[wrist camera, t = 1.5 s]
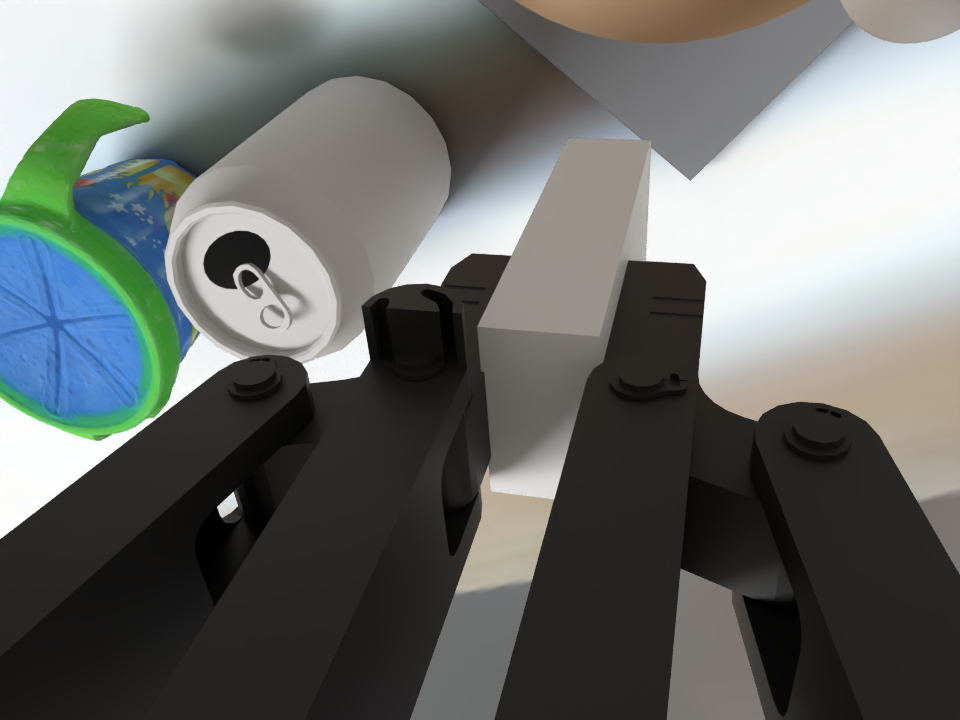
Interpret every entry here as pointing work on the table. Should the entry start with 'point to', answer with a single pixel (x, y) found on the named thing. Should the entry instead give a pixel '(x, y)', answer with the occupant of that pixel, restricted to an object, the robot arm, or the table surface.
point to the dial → (740, 17)
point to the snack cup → (89, 279)
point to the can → (308, 221)
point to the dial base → (684, 74)
